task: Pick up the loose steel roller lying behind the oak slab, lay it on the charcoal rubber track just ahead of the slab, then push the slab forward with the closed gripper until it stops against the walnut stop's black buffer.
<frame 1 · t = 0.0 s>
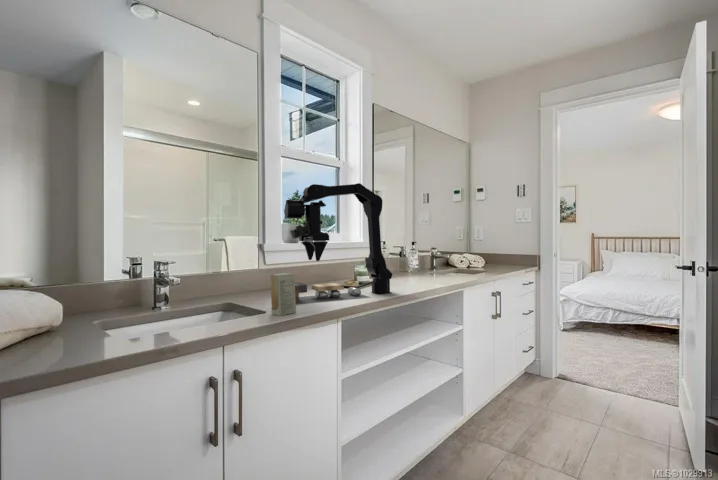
hand: (313, 260, 140), 15 cm above the countertop, fingers open, 9 cm apart
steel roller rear: (333, 297, 142), resting on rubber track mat
walnut stop: (295, 301, 136), resting on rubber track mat
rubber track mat: (326, 298, 141), on the countertop
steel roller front: (321, 298, 140), resting on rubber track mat
loose steel roller: (354, 295, 146), resting on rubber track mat
oak slab: (327, 287, 141), point 4 cm above the countertop, slide at 0.0 cm
skincare box: (283, 314, 114), on the countertop
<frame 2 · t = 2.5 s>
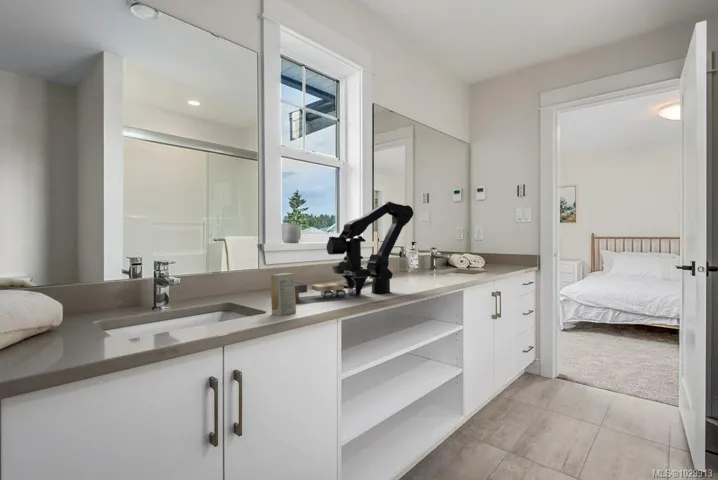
hand: (354, 293, 146), 1 cm above the countertop, fingers closed on loose steel roller, 6 cm apart
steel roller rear: (335, 293, 142), point 2 cm above the countertop, tilted 84°, touching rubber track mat
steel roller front: (323, 294, 140), point 2 cm above the countertop, tilted 85°, touching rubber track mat
loose steel roller: (354, 295, 146), resting on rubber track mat, touching gripper
everything else where it was.
when the fingers open (2 cm above the countertop, at t = 7.3 s): loose steel roller drops 1 cm, resting on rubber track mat.
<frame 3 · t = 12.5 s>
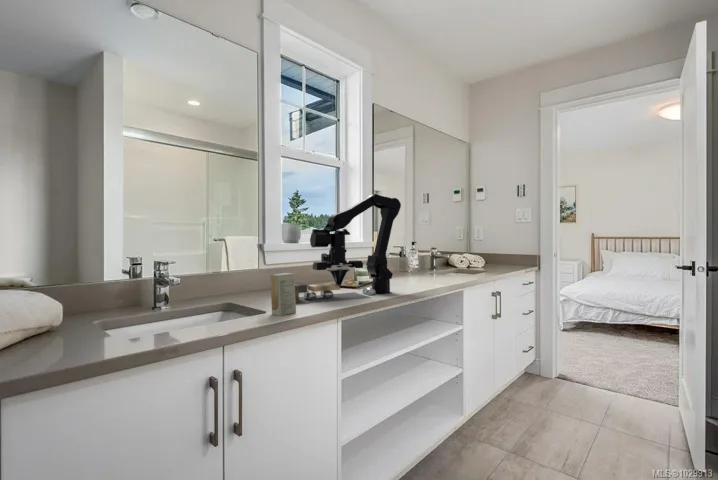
hand: (338, 287, 143), 4 cm above the countertop, fingers closed
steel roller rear: (371, 289, 149), point 2 cm above the countertop, tilted 115°
loose steel roller: (309, 299, 138), resting on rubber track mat, tilted 11°
oak slab: (323, 287, 140), point 4 cm above the countertop, slide at 1.6 cm, touching gripper
everything else where it was.
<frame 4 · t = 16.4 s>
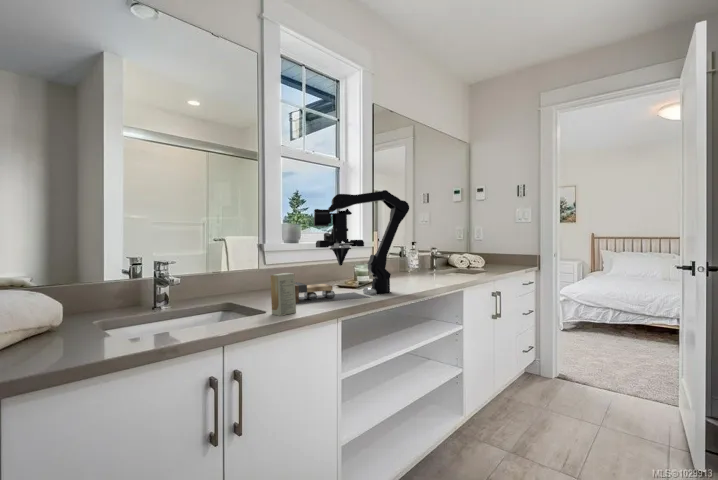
hand: (340, 265, 149), 12 cm above the countertop, fingers closed
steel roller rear: (373, 290, 149), point 2 cm above the countertop, tilted 101°
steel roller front: (324, 292, 141), point 2 cm above the countertop, tilted 108°, touching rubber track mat
loose steel roller: (309, 299, 138), resting on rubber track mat, tilted 16°
oak slab: (316, 287, 139), point 4 cm above the countertop, slide at 4.5 cm
everything else where it was.
at the end: oak slab slide at 4.5 cm; loose steel roller 0.2 cm from the target spot, point 0.5 cm above the countertop; the gripper is holding nothing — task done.
